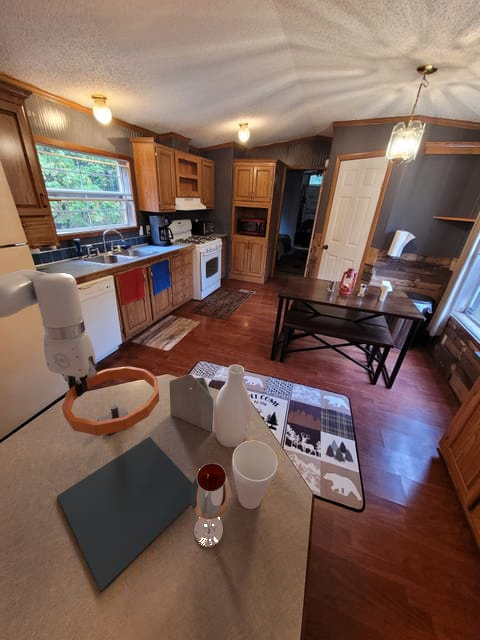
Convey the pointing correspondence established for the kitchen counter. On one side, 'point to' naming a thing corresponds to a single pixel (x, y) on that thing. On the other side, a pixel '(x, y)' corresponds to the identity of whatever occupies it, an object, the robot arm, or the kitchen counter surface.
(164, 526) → the mat
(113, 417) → the peg
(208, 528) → the wineglass
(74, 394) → the hoop
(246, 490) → the cup
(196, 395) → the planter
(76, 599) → the kitchen counter surface
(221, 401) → the bottle
